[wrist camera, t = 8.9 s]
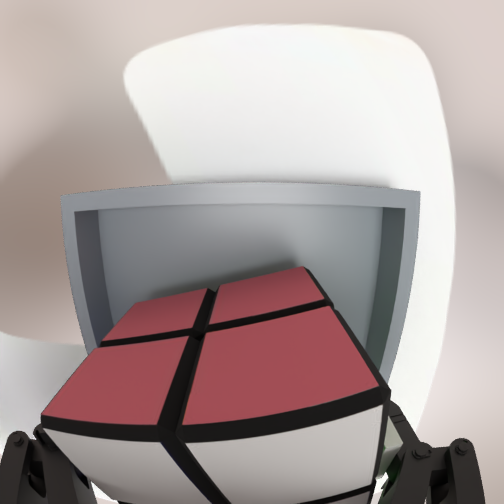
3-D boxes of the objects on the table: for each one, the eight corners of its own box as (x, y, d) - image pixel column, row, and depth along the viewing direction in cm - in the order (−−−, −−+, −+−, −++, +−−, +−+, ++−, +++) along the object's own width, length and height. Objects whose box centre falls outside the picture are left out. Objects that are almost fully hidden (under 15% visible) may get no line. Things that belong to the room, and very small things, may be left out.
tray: (136, 418, 21) (124, 445, 17) (91, 192, 16) (60, 195, 13) (352, 419, 21) (363, 446, 17) (390, 189, 16) (420, 191, 13)
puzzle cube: (132, 301, 15) (30, 418, 5) (307, 262, 14) (398, 387, 5) (189, 422, 17) (165, 539, 7) (328, 398, 17) (369, 521, 7)
